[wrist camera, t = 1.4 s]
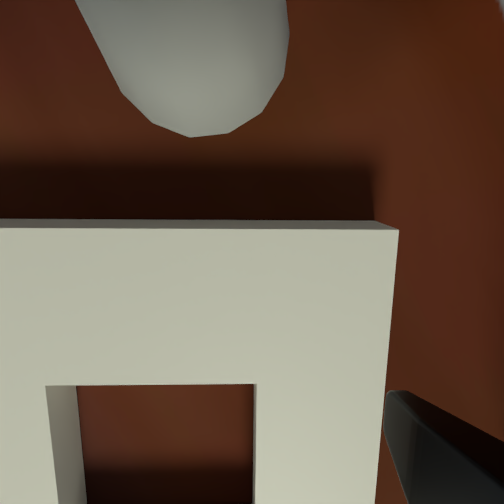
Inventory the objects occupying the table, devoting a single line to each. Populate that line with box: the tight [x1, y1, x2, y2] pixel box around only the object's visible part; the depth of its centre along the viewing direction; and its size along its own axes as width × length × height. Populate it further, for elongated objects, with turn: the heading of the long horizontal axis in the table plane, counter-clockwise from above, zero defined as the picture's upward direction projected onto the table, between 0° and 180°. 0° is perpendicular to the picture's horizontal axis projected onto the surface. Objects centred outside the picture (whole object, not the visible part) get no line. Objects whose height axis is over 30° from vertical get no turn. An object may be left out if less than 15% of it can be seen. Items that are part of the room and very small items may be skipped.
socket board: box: [0, 219, 399, 504], centre depth 17 cm, size 18×20×2 cm
